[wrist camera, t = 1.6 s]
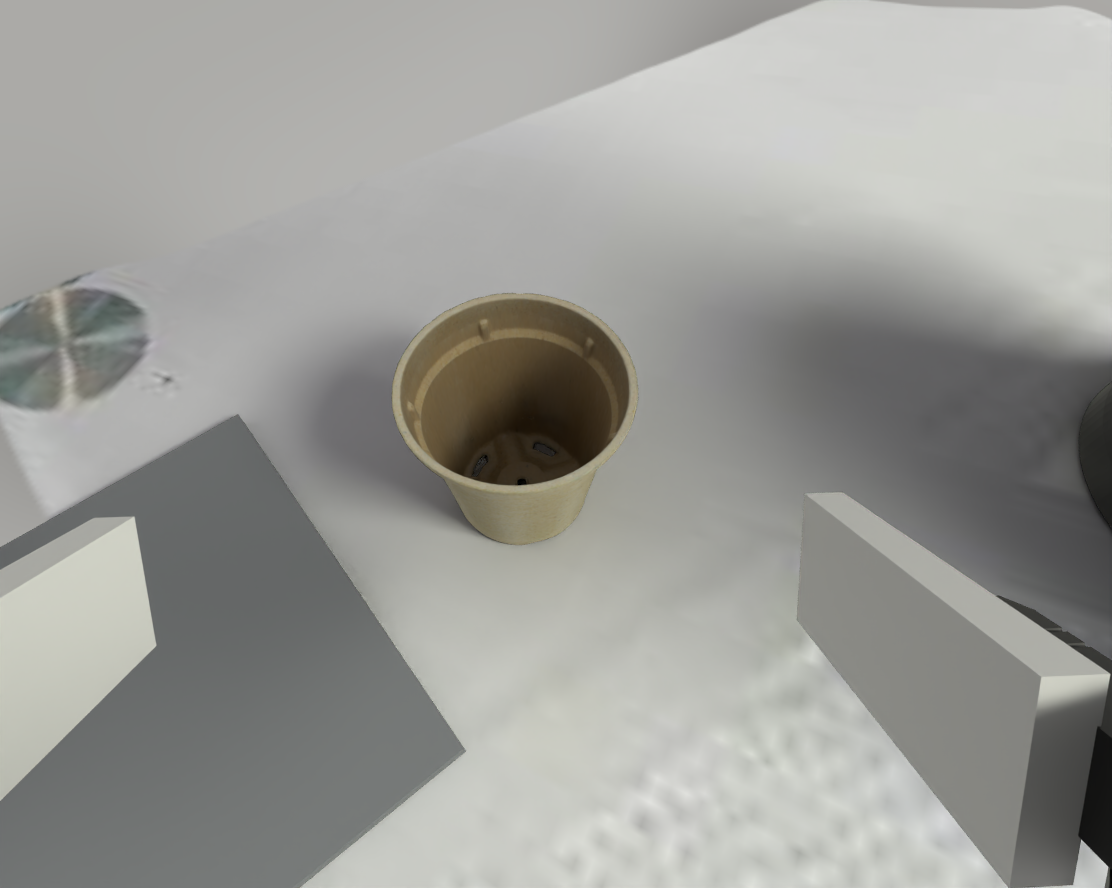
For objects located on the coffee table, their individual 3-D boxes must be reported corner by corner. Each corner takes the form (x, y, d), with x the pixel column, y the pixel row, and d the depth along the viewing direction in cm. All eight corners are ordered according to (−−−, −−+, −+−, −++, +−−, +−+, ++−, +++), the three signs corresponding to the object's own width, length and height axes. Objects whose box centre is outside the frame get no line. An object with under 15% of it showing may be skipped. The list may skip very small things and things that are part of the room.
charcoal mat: (466, 750, 28) (463, 748, 27) (61, 1082, 23) (46, 1088, 22) (243, 422, 36) (238, 414, 36) (-92, 612, 31) (-106, 606, 30)
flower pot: (621, 412, 37) (638, 296, 29) (619, 585, 32) (638, 499, 24) (442, 403, 37) (413, 286, 29) (412, 574, 32) (369, 485, 25)
